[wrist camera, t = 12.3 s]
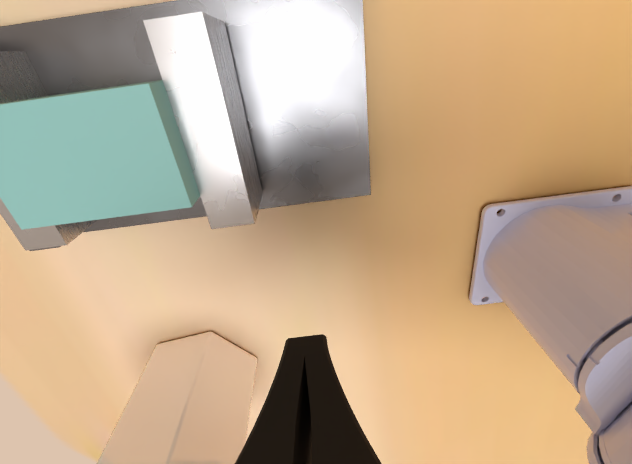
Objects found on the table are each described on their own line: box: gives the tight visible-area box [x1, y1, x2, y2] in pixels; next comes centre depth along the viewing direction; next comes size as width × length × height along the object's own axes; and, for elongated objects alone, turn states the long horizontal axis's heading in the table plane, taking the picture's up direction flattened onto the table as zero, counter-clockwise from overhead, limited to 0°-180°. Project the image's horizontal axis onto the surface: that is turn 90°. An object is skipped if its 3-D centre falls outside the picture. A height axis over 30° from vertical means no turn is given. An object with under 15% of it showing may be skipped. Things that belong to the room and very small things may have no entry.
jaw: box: [143, 12, 263, 229], centre depth 14 cm, size 2×8×4 cm, turn 7°
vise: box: [0, 0, 371, 251], centre depth 15 cm, size 18×10×4 cm, turn 97°
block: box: [0, 80, 200, 230], centre depth 14 cm, size 7×4×5 cm, turn 97°
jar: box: [97, 332, 257, 464], centre depth 21 cm, size 9×8×12 cm
